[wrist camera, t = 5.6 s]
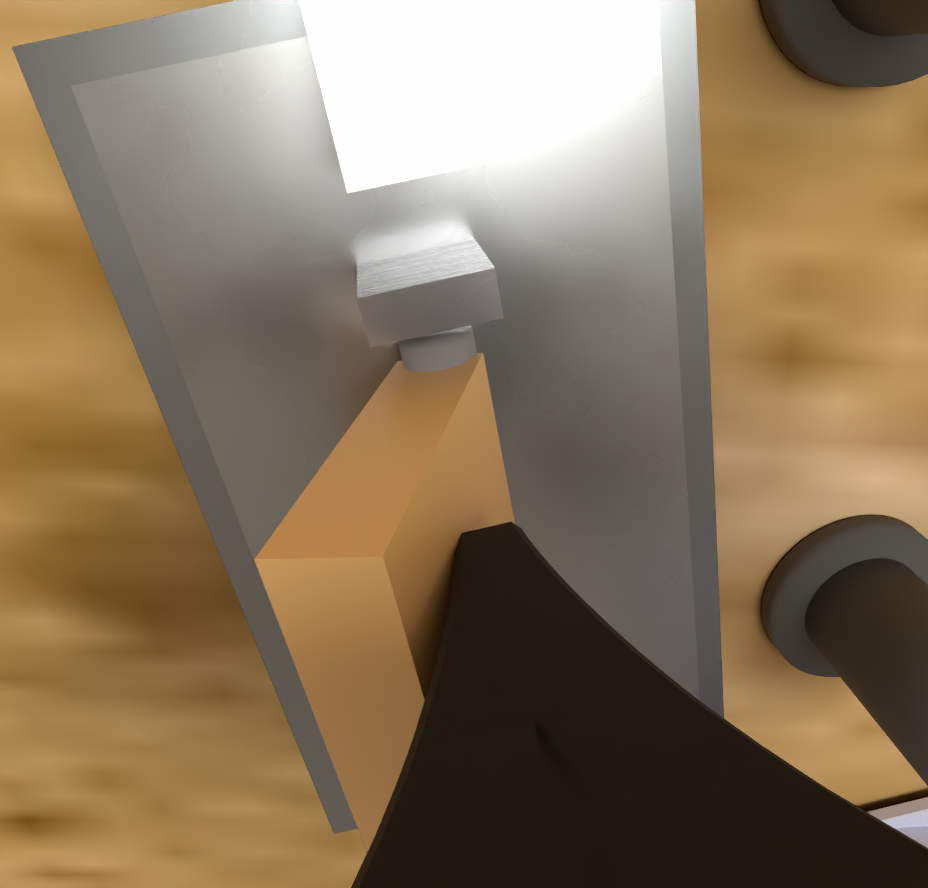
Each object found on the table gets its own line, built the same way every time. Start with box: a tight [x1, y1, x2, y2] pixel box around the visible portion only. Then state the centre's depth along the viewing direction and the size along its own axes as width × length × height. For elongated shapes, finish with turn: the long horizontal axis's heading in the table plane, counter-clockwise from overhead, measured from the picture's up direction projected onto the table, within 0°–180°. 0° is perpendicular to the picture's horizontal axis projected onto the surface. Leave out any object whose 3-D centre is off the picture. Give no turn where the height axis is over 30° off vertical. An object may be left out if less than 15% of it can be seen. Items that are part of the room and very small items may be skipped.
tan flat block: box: [254, 325, 515, 852], centre depth 10 cm, size 6×1×5 cm, turn 11°
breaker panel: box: [12, 0, 724, 834], centre depth 12 cm, size 14×8×5 cm, turn 11°
